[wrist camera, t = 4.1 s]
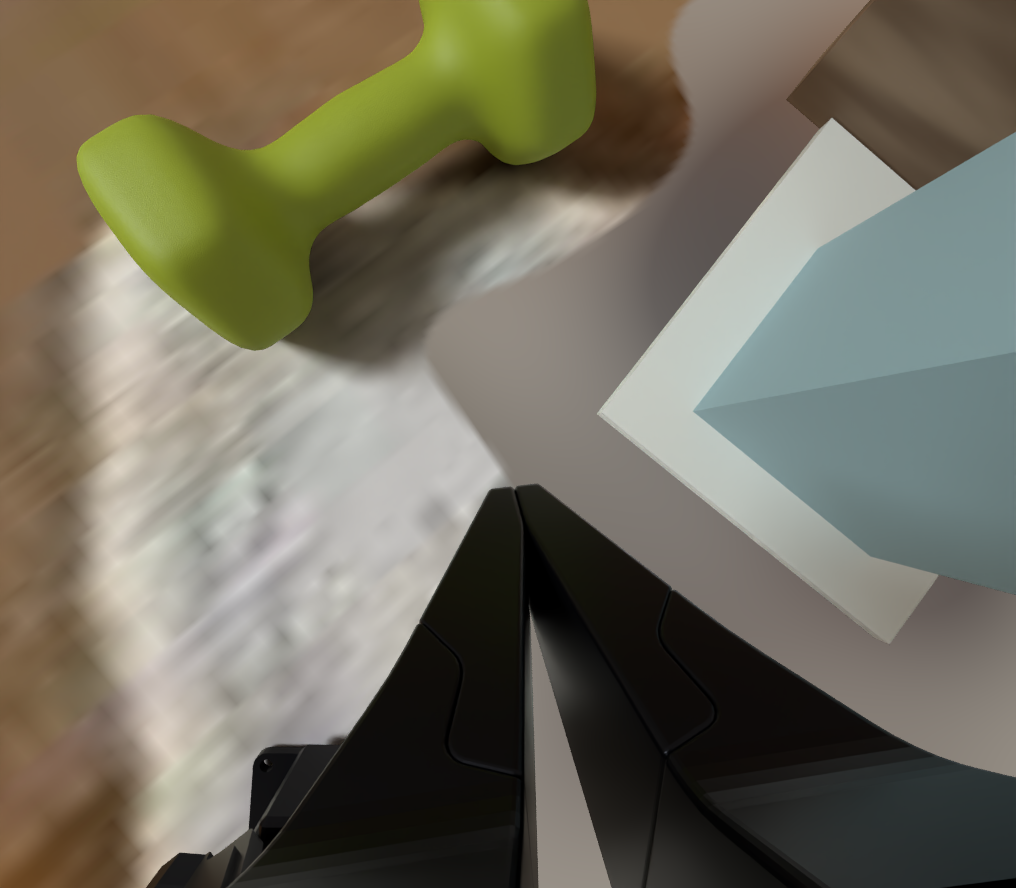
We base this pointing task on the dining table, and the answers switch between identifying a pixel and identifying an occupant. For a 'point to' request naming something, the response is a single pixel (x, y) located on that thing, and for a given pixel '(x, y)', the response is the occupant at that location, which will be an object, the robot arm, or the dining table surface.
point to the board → (919, 82)
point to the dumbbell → (336, 159)
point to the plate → (715, 342)
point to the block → (897, 379)
